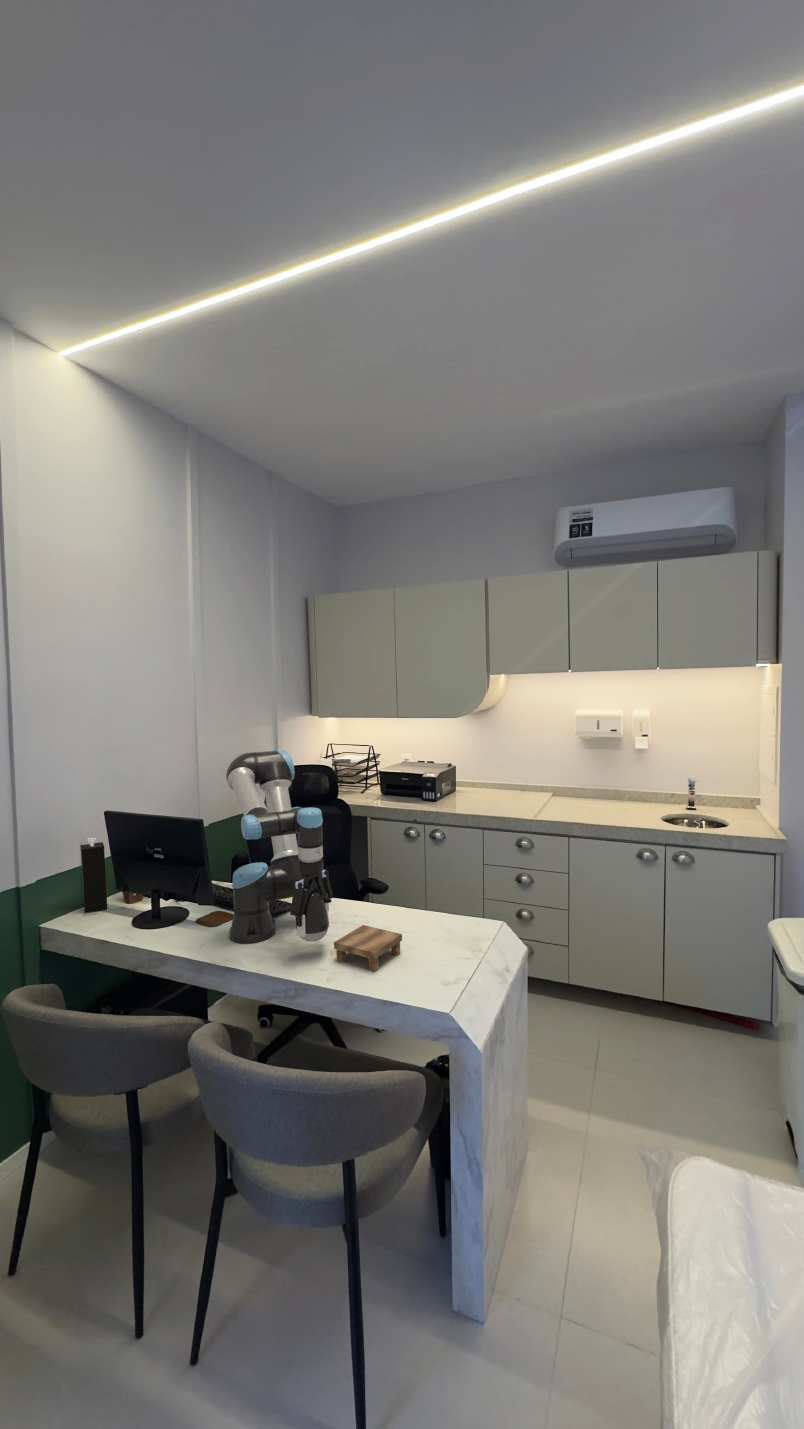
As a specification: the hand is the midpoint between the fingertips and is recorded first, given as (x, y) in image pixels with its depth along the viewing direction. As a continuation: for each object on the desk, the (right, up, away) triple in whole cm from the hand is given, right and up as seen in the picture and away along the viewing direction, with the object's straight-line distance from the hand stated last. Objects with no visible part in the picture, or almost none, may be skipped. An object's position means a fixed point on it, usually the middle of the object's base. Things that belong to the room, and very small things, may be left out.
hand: (313, 929), depth 188 cm
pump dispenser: (0, -3, 0) cm, 3 cm away
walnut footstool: (+17, -8, -1) cm, 19 cm away
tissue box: (-91, -9, +47) cm, 103 cm away
